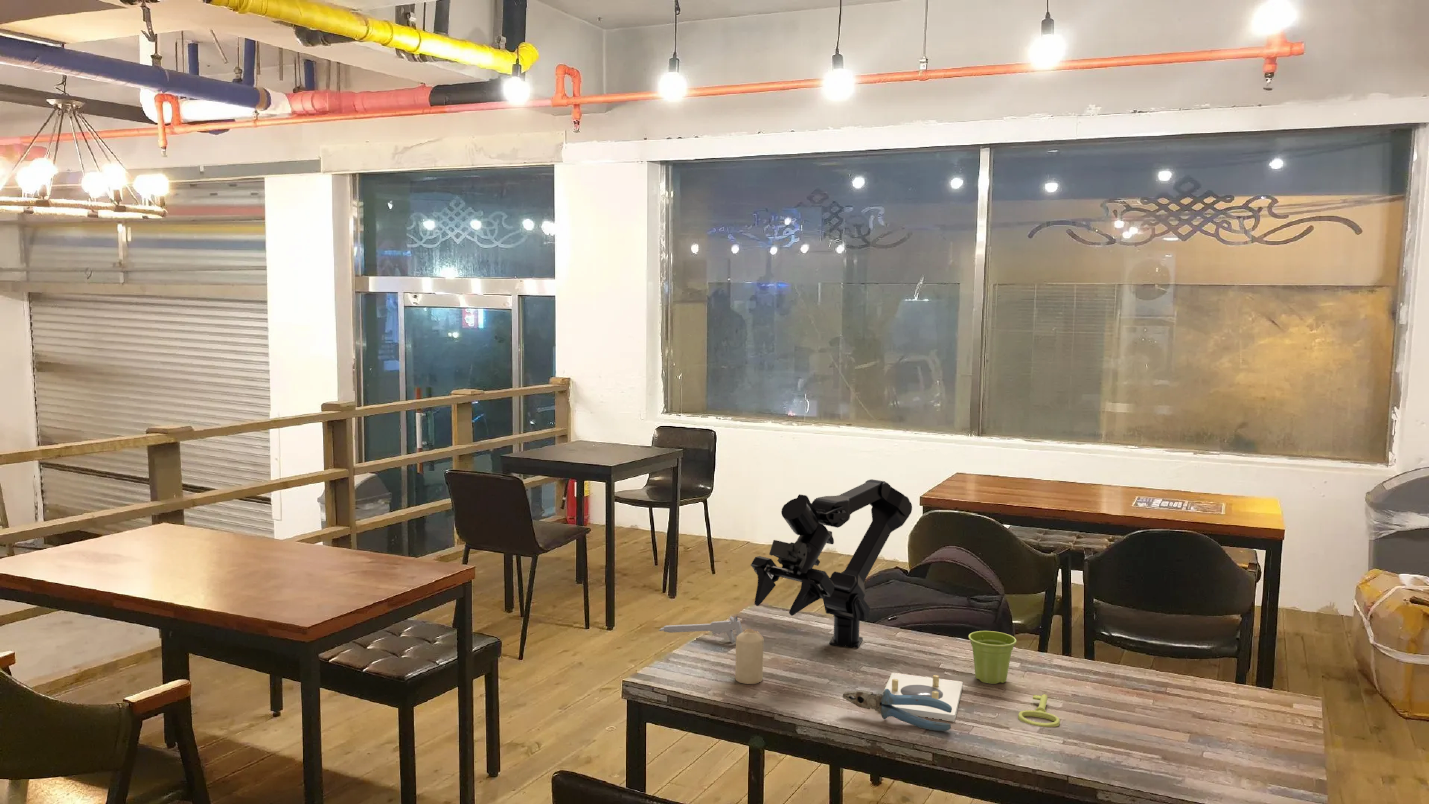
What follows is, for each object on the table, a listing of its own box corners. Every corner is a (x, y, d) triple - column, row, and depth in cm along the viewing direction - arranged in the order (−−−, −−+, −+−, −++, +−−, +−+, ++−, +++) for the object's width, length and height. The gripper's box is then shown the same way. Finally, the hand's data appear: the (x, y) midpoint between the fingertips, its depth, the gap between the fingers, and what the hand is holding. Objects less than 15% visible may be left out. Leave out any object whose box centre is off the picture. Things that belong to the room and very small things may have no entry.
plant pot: (963, 683, 204) (965, 641, 204) (970, 668, 213) (972, 628, 212) (1011, 690, 201) (1013, 647, 200) (1016, 675, 210) (1018, 634, 209)
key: (1046, 704, 195) (1047, 693, 195) (1062, 730, 183) (1062, 719, 183) (1008, 702, 196) (1008, 691, 196) (1021, 728, 184) (1021, 717, 184)
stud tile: (891, 678, 206) (892, 663, 206) (962, 687, 202) (963, 671, 202) (877, 710, 189) (878, 694, 189) (954, 721, 185) (955, 704, 185)
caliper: (742, 643, 227) (742, 616, 226) (740, 645, 226) (740, 617, 225) (660, 630, 235) (661, 604, 235) (658, 631, 234) (658, 605, 234)
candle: (733, 674, 207) (734, 626, 206) (760, 674, 207) (761, 626, 206) (736, 684, 201) (737, 635, 200) (764, 684, 202) (765, 635, 201)
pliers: (841, 713, 188) (842, 682, 187) (845, 710, 190) (846, 679, 189) (949, 736, 179) (950, 703, 178) (952, 731, 181) (953, 699, 180)
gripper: (757, 518, 217) (721, 578, 210) (827, 532, 204) (791, 596, 197) (780, 549, 223) (745, 608, 216) (849, 564, 211) (815, 628, 204)
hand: (773, 609), depth 208 cm, fingers open, 9 cm apart
